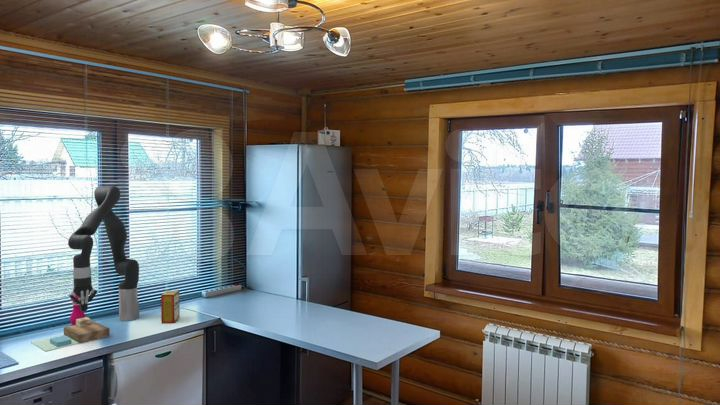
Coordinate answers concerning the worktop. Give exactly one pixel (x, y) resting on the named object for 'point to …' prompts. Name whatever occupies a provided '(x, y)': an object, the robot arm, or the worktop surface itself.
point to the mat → (48, 346)
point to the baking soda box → (170, 307)
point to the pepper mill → (76, 312)
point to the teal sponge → (60, 341)
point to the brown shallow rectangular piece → (86, 332)
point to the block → (83, 321)
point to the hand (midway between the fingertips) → (84, 311)
